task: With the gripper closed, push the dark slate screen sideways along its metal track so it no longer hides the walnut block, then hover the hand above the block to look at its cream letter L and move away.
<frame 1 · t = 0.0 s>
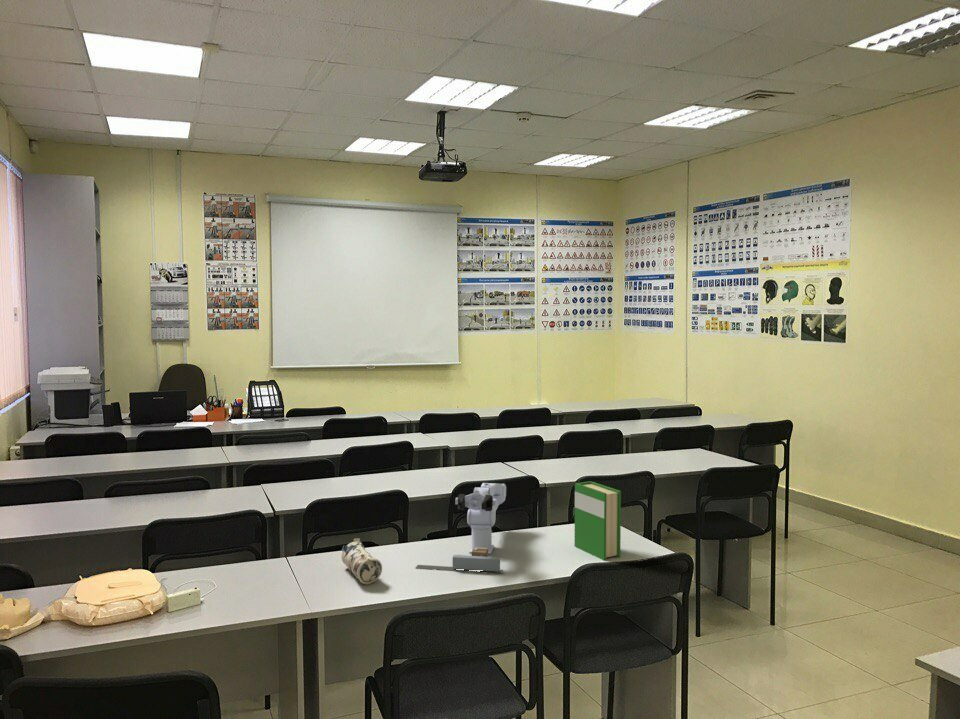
hand: (471, 505, 246), 22 cm above the table, tool horizontal, fingers open, 7 cm apart
walnut letter block: (480, 563, 252), on the table
slate screen: (476, 563, 245), point 3 cm above the table, slide at 0.0 cm
hardback book: (596, 552, 264), on the table
metal track: (459, 569, 246), on the table
pencil case: (361, 576, 241), on the table
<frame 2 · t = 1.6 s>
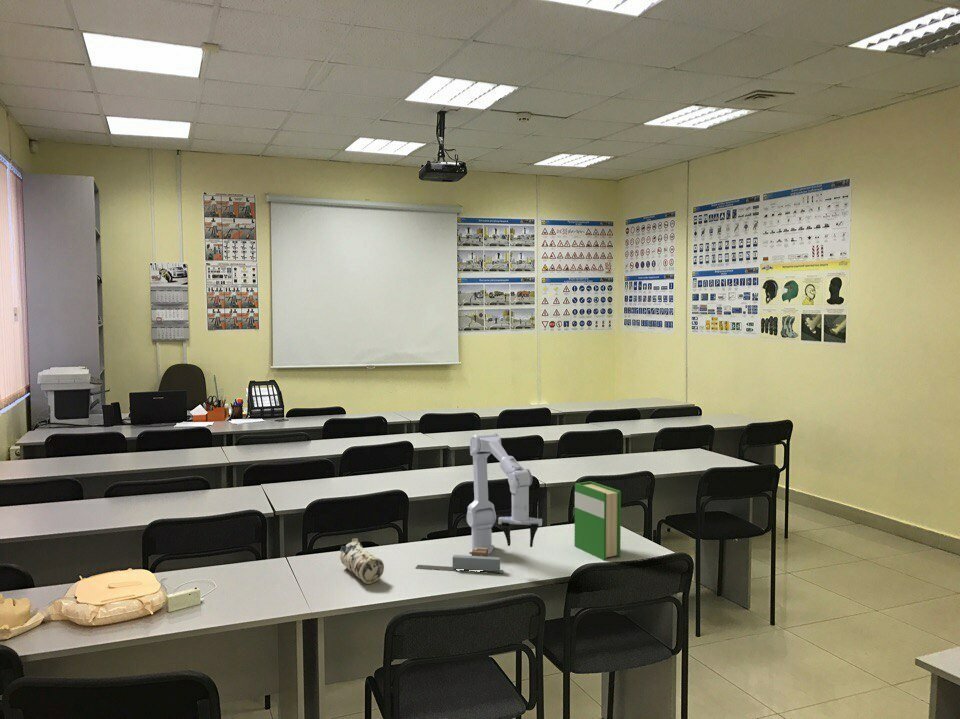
hand: (520, 545, 242), 9 cm above the table, tool pointing down, fingers open, 7 cm apart
nothing on the table moved.
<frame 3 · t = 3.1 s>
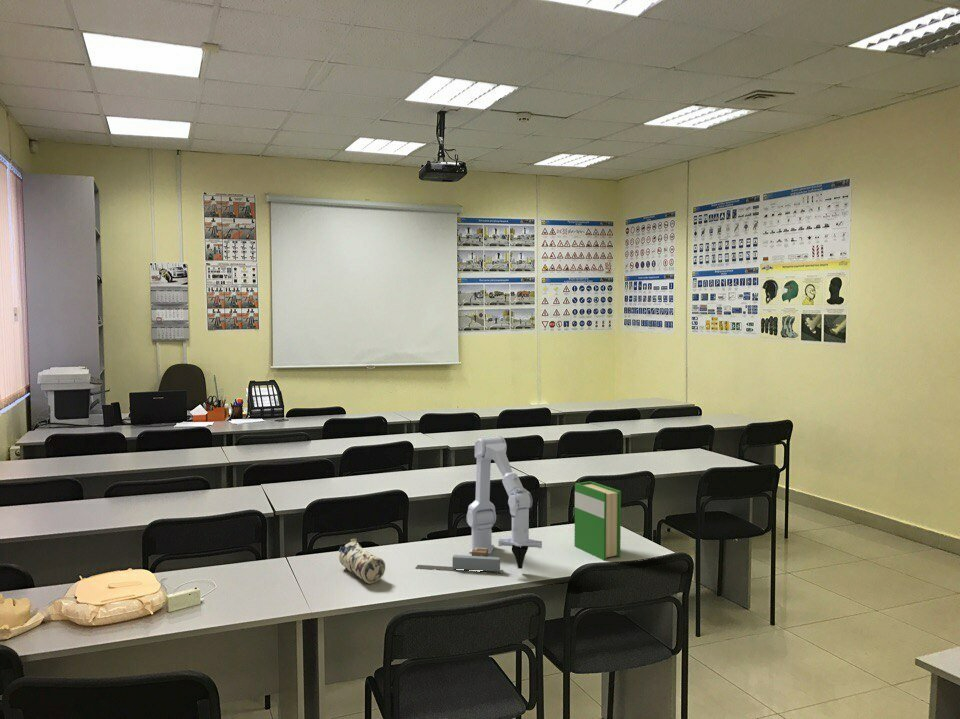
hand: (520, 567, 242), 2 cm above the table, tool pointing down, fingers closed
nothing on the table moved.
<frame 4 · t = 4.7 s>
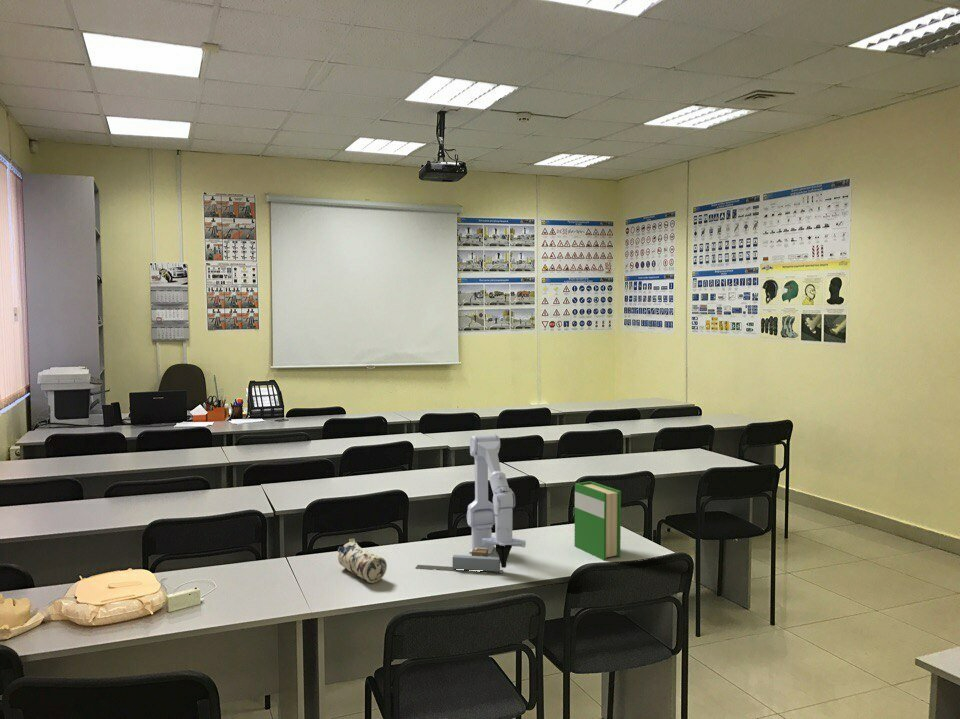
hand: (503, 566, 243), 2 cm above the table, tool pointing down, fingers closed
slate screen: (476, 563, 245), point 3 cm above the table, slide at 0.0 cm, touching gripper
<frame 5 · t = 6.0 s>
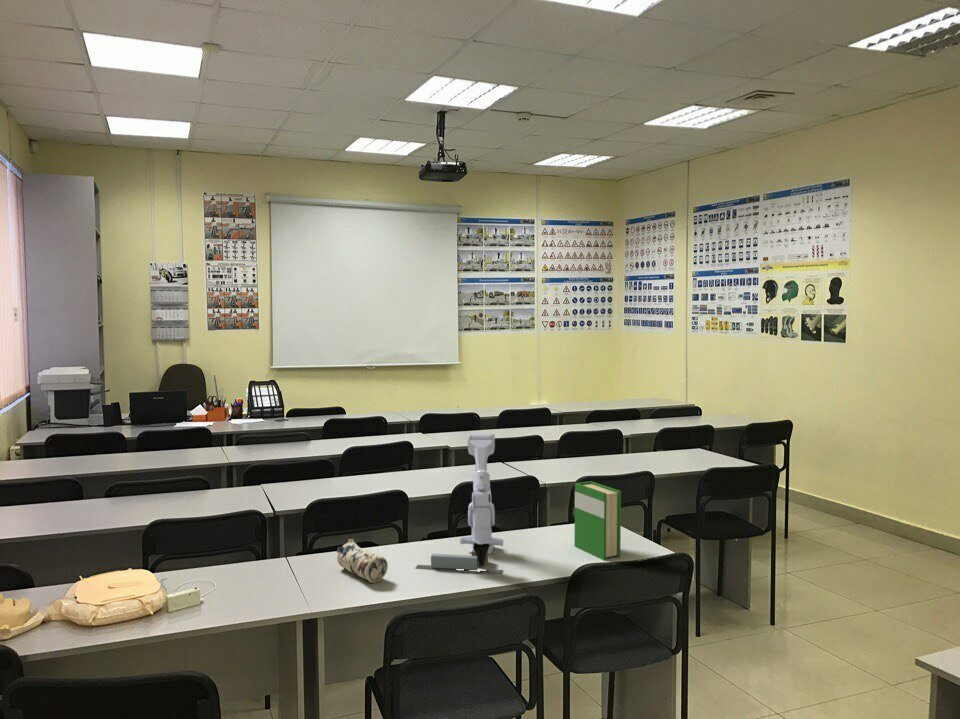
hand: (481, 565, 245), 2 cm above the table, tool pointing down, fingers closed
slate screen: (454, 561, 246), point 3 cm above the table, slide at 7.5 cm, touching gripper
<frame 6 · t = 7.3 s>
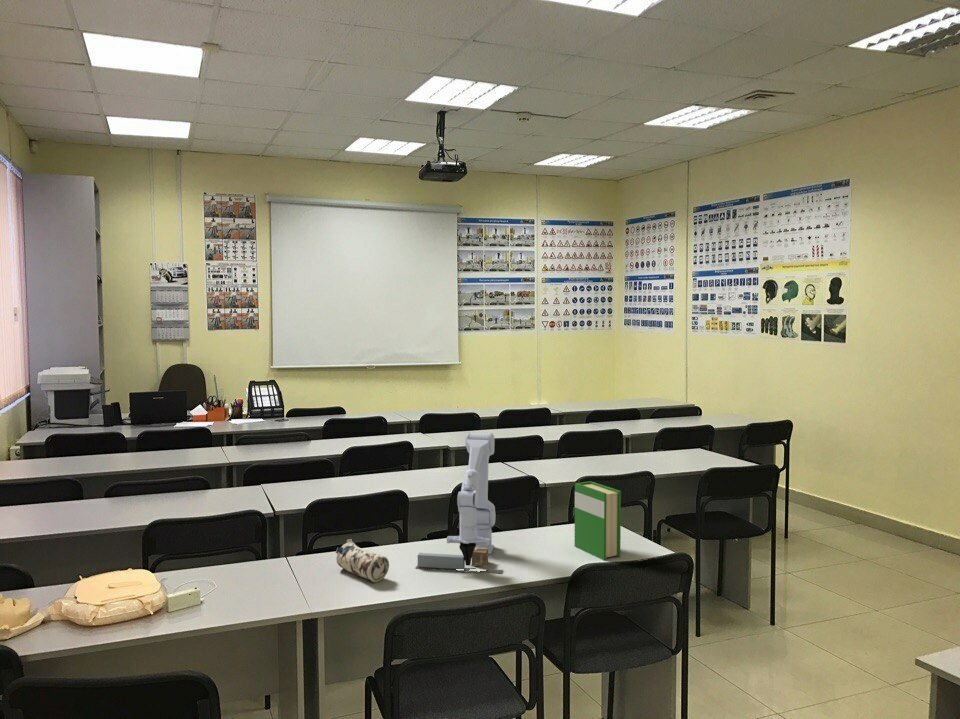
hand: (468, 564, 245), 2 cm above the table, tool pointing down, fingers closed
slate screen: (441, 560, 247), point 3 cm above the table, slide at 12.3 cm, touching gripper
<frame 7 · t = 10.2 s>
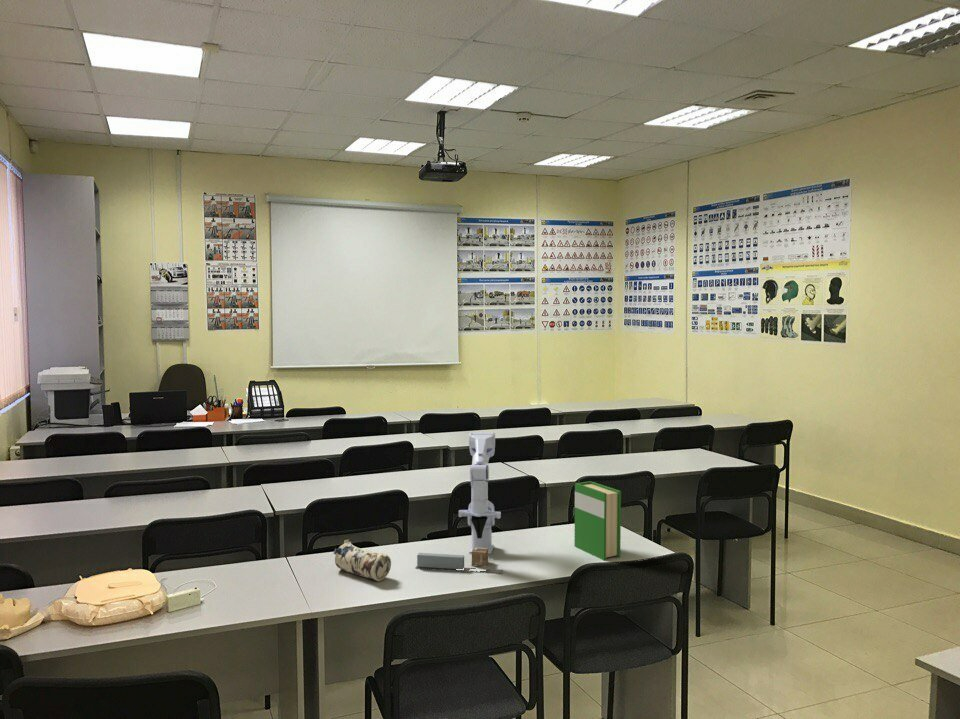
hand: (479, 537, 251), 9 cm above the table, tool pointing down, fingers closed
slate screen: (440, 560, 247), point 3 cm above the table, slide at 12.4 cm
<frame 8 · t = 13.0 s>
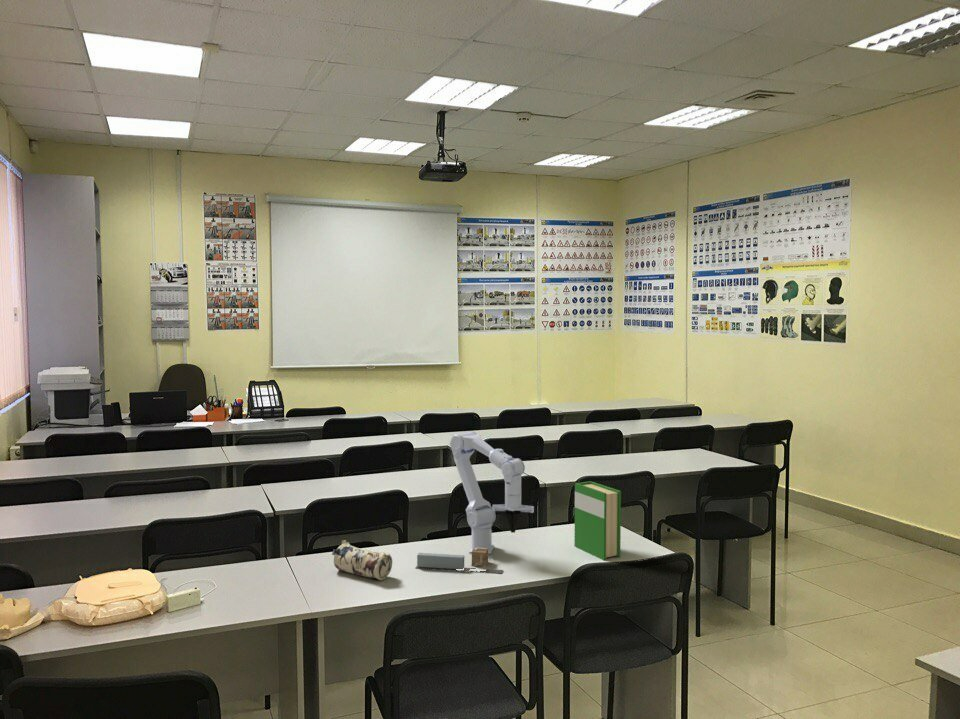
hand: (513, 531, 254), 10 cm above the table, tool pointing down, fingers closed
at the end: slate screen slide at 12.4 cm; walnut letter block moved 0.1 cm from its start; walnut letter block tilted 0° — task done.
